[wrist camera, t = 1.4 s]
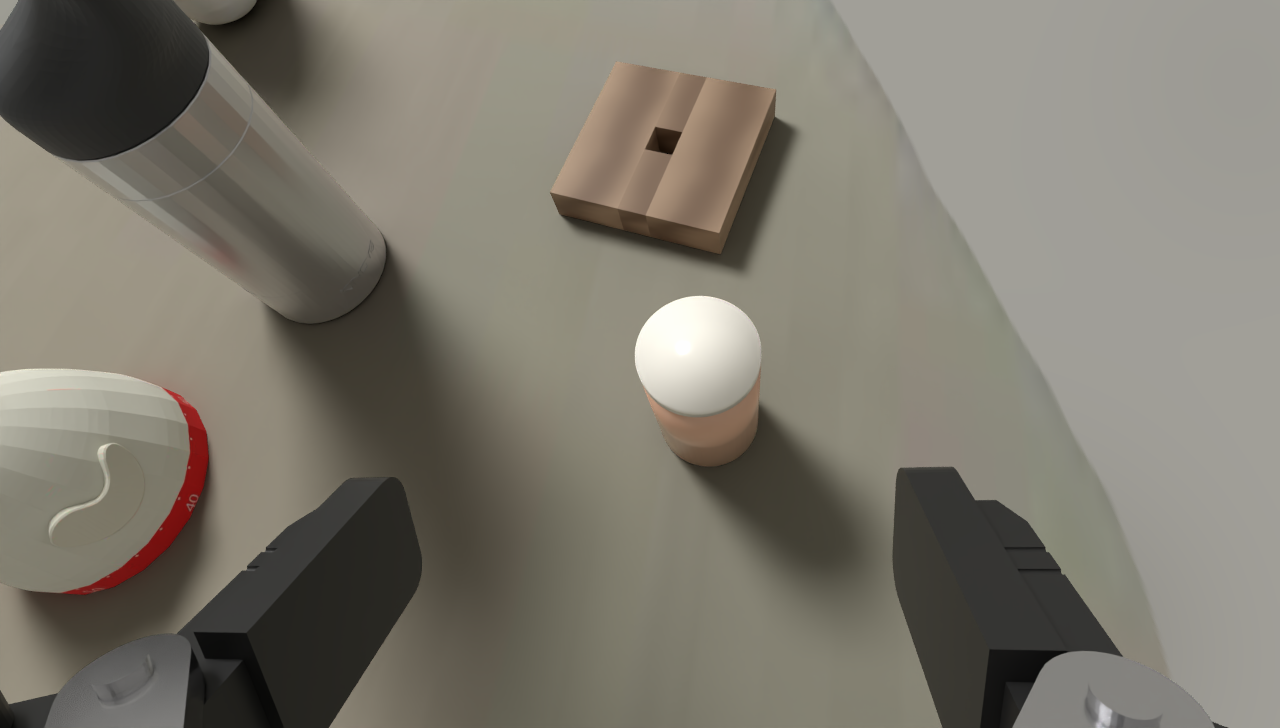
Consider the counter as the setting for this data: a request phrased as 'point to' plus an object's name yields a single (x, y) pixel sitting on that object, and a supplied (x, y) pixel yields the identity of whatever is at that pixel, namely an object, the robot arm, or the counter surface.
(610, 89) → the walnut board
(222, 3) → the glass bottle
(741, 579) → the counter surface
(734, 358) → the terracotta canister
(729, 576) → the counter surface
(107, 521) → the kitchen timer
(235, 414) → the counter surface
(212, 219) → the robot arm
